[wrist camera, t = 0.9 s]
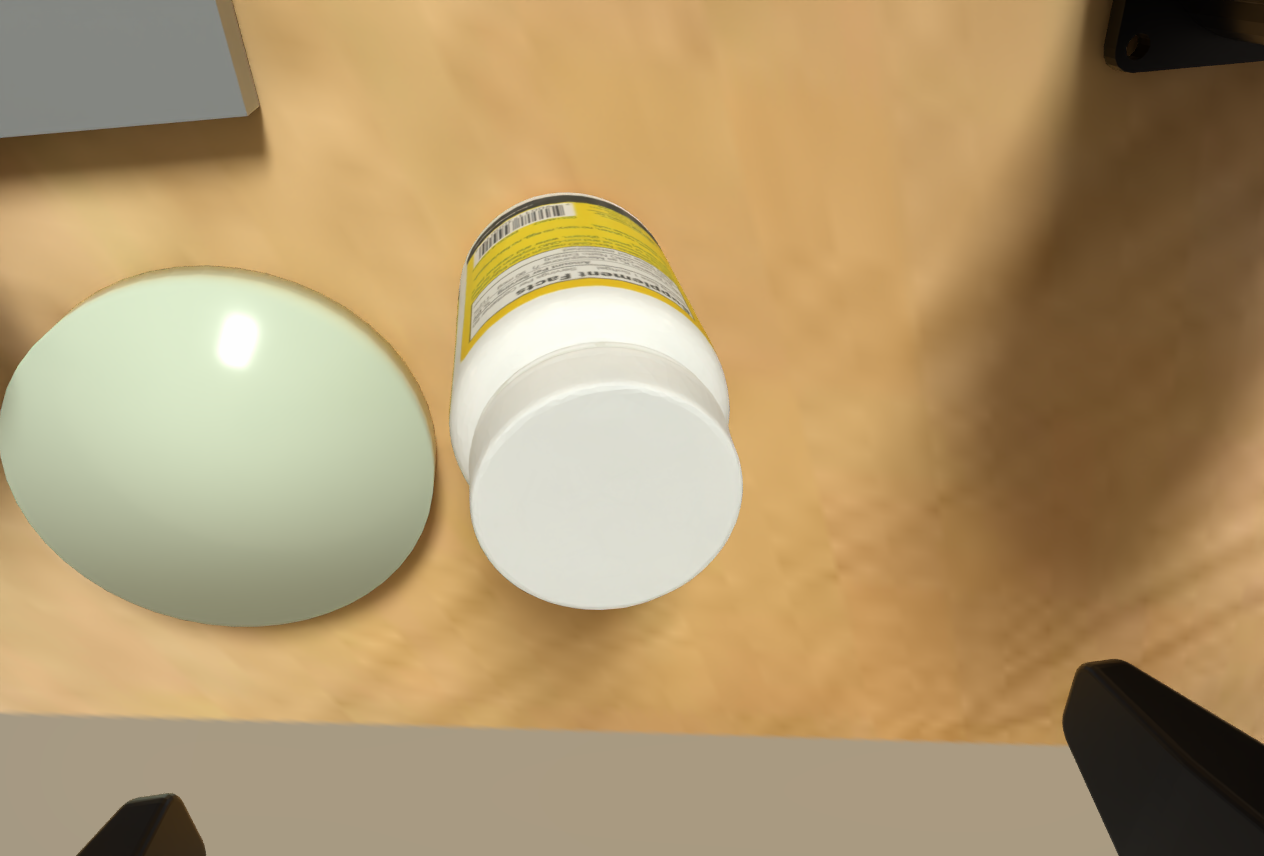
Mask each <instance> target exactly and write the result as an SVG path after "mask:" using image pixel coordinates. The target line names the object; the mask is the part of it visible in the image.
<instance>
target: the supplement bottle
mask: <svg viewBox="0 0 1264 856" xmlns="http://www.w3.org/2000/svg"><path fill="white" fill-rule="evenodd" d="M729 412H730V406H729V396H728V389H727V384H726V380H725V376H724V372H723V369H722V366H721V364H720V361H719V359H718V357H717V354H716V352H715V350H714V348H713V346H712V344H711V342H710V340H709V338H708V336H707V334H706V332H705V331H704V329H703V327H702V325H701V324H700V322H699V320H698V318H697V316H696V314H695V312H694V310H693V308H692V306H691V304H690V303H689V301H688V299H687V297H686V295H685V294H684V292H683V290H682V288H681V286H680V284H679V282H678V280H677V278H676V276H675V274H674V273H673V271H672V269H671V267H670V265H669V263H668V261H667V259H666V258H665V256H664V254H663V252H662V250H661V248H660V246H659V245H658V243H657V242H656V240H655V239H654V237H653V236H652V234H651V233H650V232H649V231H648V229H647V228H646V227H645V226H644V225H643V224H642V223H641V222H640V221H639V220H638V219H637V218H636V217H634V216H633V215H632V214H630V213H629V212H628V211H626V210H625V209H623V208H622V207H620V206H618V205H616V204H614V203H612V202H610V201H607V200H605V199H602V198H599V197H595V196H592V195H586V194H580V193H552V194H545V195H540V196H536V197H533V198H530V199H527V200H525V201H522V202H520V203H518V204H516V205H514V206H512V207H510V208H509V209H507V210H506V211H504V212H503V213H501V214H500V215H499V216H497V217H496V218H495V219H494V220H493V221H492V222H491V223H490V224H489V225H488V226H487V227H486V228H485V229H484V230H483V231H482V232H481V234H480V235H479V236H478V238H477V239H476V241H475V242H474V244H473V246H472V248H471V249H470V251H469V253H468V255H467V258H466V260H465V263H464V266H463V270H462V274H461V279H460V287H459V297H458V312H457V328H456V343H455V355H454V368H453V379H452V389H451V399H450V410H449V427H450V437H451V443H452V447H453V451H454V454H455V457H456V460H457V462H458V465H459V467H460V469H461V471H462V474H463V476H464V478H465V479H466V481H467V483H468V484H469V490H470V513H471V520H472V524H473V528H474V532H475V534H476V537H477V540H478V542H479V544H480V547H481V548H482V550H483V551H484V553H485V555H486V556H487V558H488V560H489V561H490V562H491V563H492V564H493V565H494V567H495V568H496V569H497V570H498V571H499V572H500V573H501V574H502V575H503V576H504V577H505V578H506V579H507V580H509V581H510V582H511V583H512V584H514V585H515V586H517V587H518V588H520V589H521V590H523V591H525V592H527V593H529V594H531V595H533V596H535V597H537V598H539V599H542V600H545V601H547V602H550V603H553V604H557V605H561V606H566V607H571V608H577V609H589V610H605V609H616V608H625V607H630V606H634V605H638V604H642V603H645V602H648V601H651V600H653V599H655V598H658V597H661V596H663V595H665V594H667V593H669V592H671V591H673V590H675V589H677V588H679V587H681V586H682V585H684V584H685V583H687V582H688V581H690V580H691V579H693V578H694V577H695V576H696V575H698V574H699V573H700V572H701V571H702V570H703V569H704V568H705V567H706V566H708V565H709V563H710V562H711V561H712V560H713V559H714V558H715V557H716V555H717V554H718V553H719V552H720V550H721V549H722V548H723V546H724V545H725V543H726V542H727V540H728V538H729V536H730V534H731V532H732V530H733V528H734V526H735V524H736V521H737V518H738V515H739V511H740V506H741V501H742V493H743V480H742V471H741V465H740V461H739V457H738V454H737V452H736V449H735V446H734V444H733V441H732V438H731V436H730V432H729V427H728V424H729Z"/></svg>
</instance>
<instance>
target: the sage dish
mask: <svg viewBox="0 0 1264 856" xmlns="http://www.w3.org/2000/svg"><path fill="white" fill-rule="evenodd" d="M0 456H1V460H2V464H3V468H4V472H5V475H6V479H7V482H8V484H9V486H10V489H11V491H12V493H13V496H14V498H15V500H16V502H17V504H18V506H19V507H20V509H21V510H22V512H23V514H24V515H25V517H26V519H27V520H28V522H29V523H30V525H31V526H32V527H33V528H34V530H35V531H36V532H37V533H38V534H39V536H40V537H41V538H42V539H43V541H44V542H45V543H46V544H47V545H48V546H49V547H50V548H51V549H52V550H53V551H54V552H55V553H56V554H57V555H58V556H59V557H60V558H61V559H63V560H64V561H65V562H66V563H67V564H69V565H70V566H71V567H72V568H74V569H75V570H76V571H78V572H79V573H80V574H82V575H83V576H84V577H86V578H87V579H89V580H90V581H92V582H94V583H95V584H97V585H98V586H100V587H102V588H103V589H105V590H106V591H108V592H110V593H112V594H114V595H116V596H118V597H120V598H122V599H124V600H126V601H128V602H131V603H133V604H136V605H138V606H141V607H143V608H146V609H149V610H151V611H154V612H157V613H160V614H164V615H167V616H171V617H175V618H178V619H182V620H187V621H193V622H198V623H203V624H211V625H221V626H231V627H259V626H270V625H282V624H287V623H292V622H298V621H303V620H307V619H310V618H314V617H317V616H321V615H324V614H327V613H330V612H332V611H335V610H337V609H339V608H342V607H344V606H346V605H349V604H351V603H352V602H354V601H356V600H358V599H359V598H361V597H363V596H365V595H367V594H368V593H369V592H371V591H372V590H374V589H375V588H376V587H378V586H379V585H380V584H382V583H383V582H384V581H385V580H387V579H388V578H389V577H390V576H391V575H392V574H393V573H394V572H395V571H396V570H397V569H398V568H399V567H400V566H401V564H402V563H403V562H404V561H405V559H406V558H407V557H408V555H409V554H410V553H411V551H412V550H413V548H414V546H415V545H416V543H417V541H418V539H419V537H420V536H421V534H422V532H423V529H424V526H425V523H426V521H427V518H428V515H429V511H430V506H431V500H432V495H433V487H434V477H435V467H436V441H435V433H434V425H433V422H432V418H431V415H430V411H429V408H428V404H427V402H426V400H425V398H424V395H423V393H422V391H421V389H420V387H419V384H418V382H417V381H416V379H415V378H414V376H413V374H412V373H411V371H410V370H409V368H408V367H407V365H406V363H405V362H404V361H403V360H402V358H401V357H400V356H399V355H398V354H397V352H396V351H395V350H394V349H393V348H392V346H391V345H390V344H389V343H388V342H387V341H386V340H385V339H384V338H383V337H382V336H381V335H380V334H379V333H378V332H376V331H375V330H374V329H373V328H372V327H371V326H370V325H369V324H368V323H366V322H365V321H363V320H362V319H361V318H359V317H358V316H357V315H355V314H354V313H353V312H351V311H350V310H349V309H347V308H346V307H344V306H342V305H340V304H339V303H337V302H335V301H333V300H332V299H330V298H328V297H326V296H325V295H323V294H321V293H319V292H316V291H314V290H312V289H309V288H307V287H305V286H303V285H300V284H298V283H296V282H293V281H289V280H286V279H283V278H280V277H276V276H273V275H270V274H267V273H261V272H256V271H251V270H246V269H241V268H233V267H220V266H184V267H173V268H167V269H161V270H155V271H149V272H146V273H142V274H139V275H136V276H133V277H129V278H126V279H123V280H120V281H118V282H116V283H114V284H112V285H110V286H108V287H105V288H103V289H101V290H99V291H97V292H96V293H94V294H93V295H91V296H90V297H88V298H87V299H85V300H84V301H82V302H81V303H79V304H78V305H76V306H75V307H74V308H73V309H72V310H71V311H70V312H69V313H68V314H67V315H65V316H64V317H63V318H62V319H61V320H60V321H59V322H58V323H57V324H56V325H55V326H54V327H53V328H52V329H51V330H49V331H48V332H47V333H46V334H45V335H44V336H43V337H42V338H41V339H40V340H39V341H38V342H37V343H36V344H35V345H34V346H33V347H32V348H31V349H30V351H29V352H28V353H27V354H26V356H25V357H24V358H23V360H22V361H21V362H20V364H19V365H18V367H17V369H16V371H15V373H14V375H13V377H12V379H11V381H10V383H9V385H8V387H7V389H6V393H5V396H4V400H3V404H2V407H1V411H0Z"/></svg>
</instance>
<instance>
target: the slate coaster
mask: <svg viewBox="0 0 1264 856" xmlns="http://www.w3.org/2000/svg"><path fill="white" fill-rule="evenodd" d="M259 106H260V104H259V100H258V96H257V93H256V89H255V85H254V82H253V78H252V74H251V70H250V67H249V63H248V59H247V56H246V52H245V48H244V44H243V41H242V37H241V33H240V30H239V26H238V22H237V18H236V15H235V11H234V7H233V4H232V0H0V138H4V137H15V136H27V135H38V134H49V133H61V132H72V131H83V130H95V129H106V128H118V127H129V126H140V125H152V124H163V123H174V122H186V121H197V120H208V119H220V118H231V117H242V116H248V115H249V114H251V113H252V112H253V111H254V110H255V109H257V108H258V107H259Z"/></svg>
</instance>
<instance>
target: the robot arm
mask: <svg viewBox="0 0 1264 856" xmlns="http://www.w3.org/2000/svg"><path fill="white" fill-rule="evenodd" d="M1136 35H1137V37H1138V44H1137V47H1136V49H1135V51H1134V52H1133V53H1132V54H1131V55H1130V56H1127V51H1126V48H1127V46H1128V43H1129V41H1130V40H1131V39H1132V38H1133V37H1134V36H1136ZM1104 58H1105V61H1106V63H1107V65H1109V66H1110V67H1111V68H1112V69H1116V70H1120V71H1124V72H1130V73H1136V72H1147V71H1158V70H1169V69H1180V68H1191V67H1202V66H1212V65H1223V64H1234V63H1245V62H1256V61H1264V0H1113V4H1112V9H1111V14H1110V19H1109V24H1108V29H1107V34H1106V39H1105V43H1104ZM1062 724H1063V731H1064V735H1065V738H1066V741H1067V743H1068V745H1069V747H1070V750H1071V752H1072V754H1073V756H1074V758H1075V760H1076V763H1077V765H1078V767H1079V769H1080V772H1081V774H1082V776H1083V778H1084V780H1085V783H1086V785H1087V787H1088V789H1089V791H1090V794H1091V796H1092V798H1093V800H1094V802H1095V805H1096V807H1097V809H1098V811H1099V813H1100V816H1101V818H1102V820H1103V822H1104V824H1105V827H1106V829H1107V831H1108V833H1109V835H1110V838H1111V840H1112V842H1113V844H1114V846H1115V849H1116V851H1117V853H1118V855H1119V856H1264V744H1263V743H1261V742H1259V741H1258V740H1256V739H1254V738H1253V737H1251V736H1249V735H1248V734H1246V733H1244V732H1243V731H1241V730H1239V729H1238V728H1236V727H1234V726H1233V725H1231V724H1229V723H1228V722H1226V721H1224V720H1223V719H1221V718H1219V717H1218V716H1216V715H1214V714H1213V713H1211V712H1210V711H1208V710H1206V709H1205V708H1203V707H1201V706H1200V705H1198V704H1196V703H1195V702H1193V701H1191V700H1190V699H1188V698H1186V697H1185V696H1183V695H1181V694H1180V693H1178V692H1176V691H1175V690H1173V689H1171V688H1170V687H1168V686H1166V685H1165V684H1163V683H1161V682H1160V681H1158V680H1156V679H1155V678H1153V677H1151V676H1150V675H1148V674H1147V673H1145V672H1143V671H1142V670H1140V669H1138V668H1137V667H1135V666H1133V665H1132V664H1130V663H1128V662H1126V661H1123V660H1119V659H1109V660H1102V661H1095V662H1088V663H1084V664H1082V665H1081V666H1080V667H1079V668H1078V669H1077V671H1076V673H1075V676H1074V679H1073V682H1072V686H1071V689H1070V692H1069V696H1068V699H1067V702H1066V706H1065V709H1064V712H1063V722H1062ZM76 856H206V851H205V846H204V843H203V840H202V838H201V836H200V835H199V833H198V831H197V829H196V827H195V825H194V823H193V821H192V819H191V817H190V815H189V813H188V811H187V809H186V807H185V805H184V803H183V802H182V800H181V799H180V797H178V796H177V795H175V794H173V793H166V794H159V795H152V796H146V797H139V798H135V799H132V800H130V801H129V802H127V803H126V804H125V805H123V806H122V807H121V808H120V809H119V810H118V811H117V812H116V813H115V814H114V815H113V816H112V817H111V818H110V820H109V821H108V822H107V823H106V824H105V825H104V826H103V827H102V828H101V829H100V830H99V831H98V833H97V834H96V835H95V836H94V837H93V838H92V839H91V840H90V841H89V842H88V843H87V845H86V846H85V847H84V848H83V849H82V850H81V851H80V852H79V853H78V854H77V855H76Z"/></svg>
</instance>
